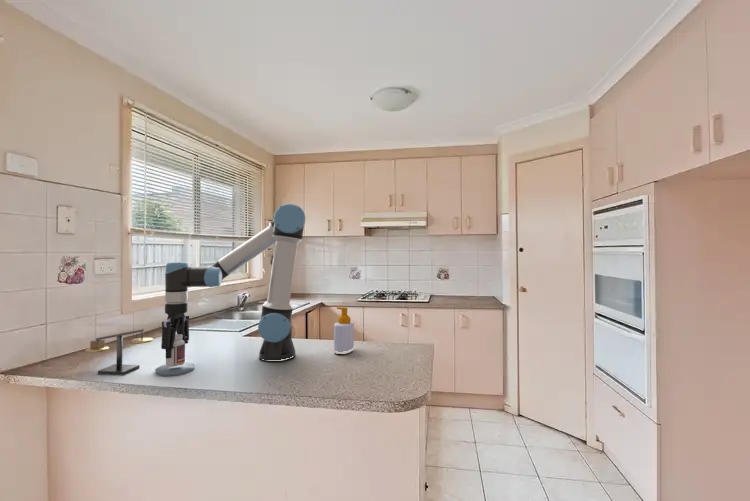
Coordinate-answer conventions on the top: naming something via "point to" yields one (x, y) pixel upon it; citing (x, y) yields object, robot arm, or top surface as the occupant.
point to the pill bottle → (179, 350)
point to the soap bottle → (343, 332)
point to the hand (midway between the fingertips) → (175, 363)
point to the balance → (118, 367)
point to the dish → (174, 369)
